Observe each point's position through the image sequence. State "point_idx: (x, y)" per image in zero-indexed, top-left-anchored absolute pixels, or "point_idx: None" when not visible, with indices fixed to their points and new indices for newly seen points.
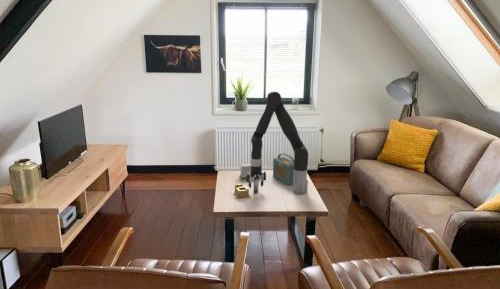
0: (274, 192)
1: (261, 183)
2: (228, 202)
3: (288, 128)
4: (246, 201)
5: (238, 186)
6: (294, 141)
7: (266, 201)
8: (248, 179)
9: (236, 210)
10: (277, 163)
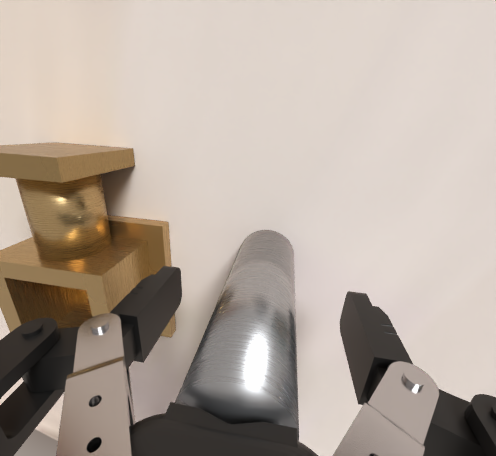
0: (454, 336)
1: (351, 352)
2: (5, 333)
3: None
4: None
5: (21, 190)
6: None
7: None
8: (25, 432)
9: (52, 429)
10: None
